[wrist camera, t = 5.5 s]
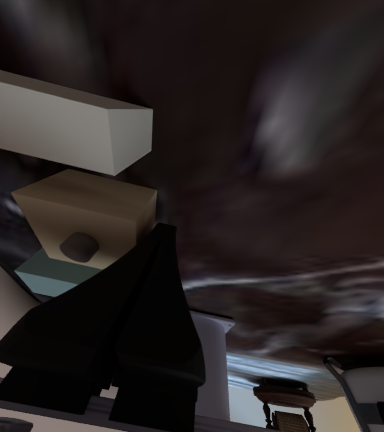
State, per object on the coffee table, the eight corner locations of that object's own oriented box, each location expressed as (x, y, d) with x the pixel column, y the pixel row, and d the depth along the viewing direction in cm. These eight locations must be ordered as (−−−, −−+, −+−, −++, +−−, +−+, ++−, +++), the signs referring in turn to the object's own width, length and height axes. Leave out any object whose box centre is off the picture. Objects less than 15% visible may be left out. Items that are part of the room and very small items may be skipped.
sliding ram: (131, 265, 15) (109, 308, 12) (72, 252, 15) (33, 292, 12) (129, 246, 13) (103, 289, 10) (62, 231, 13) (14, 270, 10)
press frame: (146, 274, 16) (130, 315, 13) (64, 256, 16) (26, 293, 13) (153, 109, 7) (107, 109, 4) (-31, 62, 7) (-231, 23, 4)
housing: (153, 240, 13) (131, 288, 10) (85, 224, 13) (37, 267, 9) (157, 190, 10) (127, 232, 7) (68, 168, 10) (-10, 200, 6)
